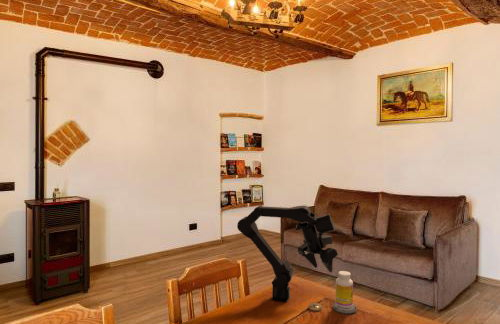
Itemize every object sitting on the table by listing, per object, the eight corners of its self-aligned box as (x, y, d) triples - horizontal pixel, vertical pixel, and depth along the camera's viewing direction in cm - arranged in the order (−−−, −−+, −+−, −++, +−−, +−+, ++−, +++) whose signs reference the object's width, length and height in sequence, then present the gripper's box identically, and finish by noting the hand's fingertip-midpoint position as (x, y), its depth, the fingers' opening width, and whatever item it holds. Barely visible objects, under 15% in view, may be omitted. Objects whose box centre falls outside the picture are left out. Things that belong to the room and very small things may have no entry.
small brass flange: (307, 310, 137) (307, 307, 137) (309, 304, 142) (309, 302, 142) (320, 312, 136) (320, 309, 136) (322, 306, 141) (322, 303, 141)
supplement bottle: (353, 309, 135) (353, 276, 135) (335, 307, 137) (336, 275, 136) (351, 301, 142) (352, 270, 141) (335, 300, 143) (335, 269, 142)
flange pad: (331, 312, 136) (331, 308, 136) (333, 302, 145) (333, 298, 145) (356, 315, 133) (356, 312, 133) (356, 305, 142) (356, 302, 142)
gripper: (340, 229, 138) (353, 263, 141) (310, 224, 155) (322, 255, 157) (320, 243, 133) (334, 279, 136) (291, 236, 149) (304, 268, 152)
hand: (323, 269), depth 145 cm, fingers open, 9 cm apart
